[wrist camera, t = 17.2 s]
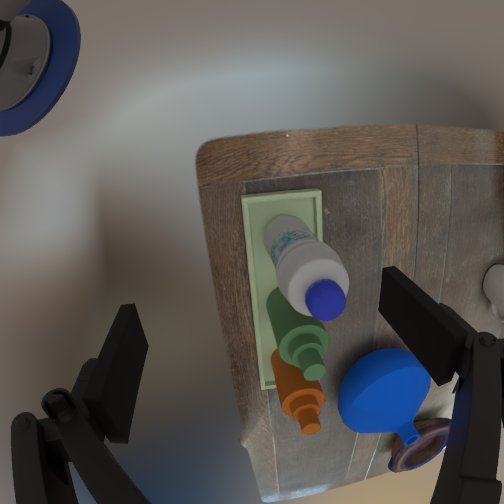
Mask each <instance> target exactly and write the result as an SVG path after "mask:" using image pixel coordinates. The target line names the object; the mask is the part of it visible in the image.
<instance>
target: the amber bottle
mask: <svg viewBox="0 0 504 504" xmlns="http://www.w3.org/2000/svg"><path fill="white" fill-rule="evenodd" d="M270 361H271V366H272V370H273V374H274V378H275V382H276V387H277V391H278V395H279V399H280V403H281V407H282V410H283V412H284V413H285V414H286V415H288V416H291V417H293V419H294V420H295V421H298V422H299V423H300V426H301V430H302V432H303V433H304V434H306V435H310V434H314V433H316V432H318V431H319V430H320V428H321V425H320V422H319V419H318V415H319V413H320V407H321V406H322V405H323V403H324V400H325V396H324V394H323V391H322V388H321V386H320V383H319V381H318V380H316V381H308V380H306V379H305V378H304V376H303V373H302V370H301V368H298V367H296V366H295V365H291V364H289V363H287V362H285V361H284V360H283V359H282V358H281V356H280V354H279V351H278V348H277V349H276V350H275V351H274V352H273V353H272V355H271V359H270Z"/></svg>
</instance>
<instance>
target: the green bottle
mask: <svg viewBox="0 0 504 504" xmlns="http://www.w3.org/2000/svg"><path fill="white" fill-rule="evenodd" d="M266 308H267V312H268V315H269V319H270V322H271V326H272V329H273V333H274V337H275V340H276V344H277V347H278V351H279V354H280V356H281V358H282V359H283V360H284V361H285V362H287V363H289V364H291V365H295V366H296V367H298V368H301V370H302V373H303V376H304V378H305V379H306V380H308V381H316V380H318V379H320V378H322V377H323V376H324V375H325V373H326V367H325V365H324V363H323V361H322V359H323V357H324V354H325V352H326V350H327V348H328V345H329V337H328V334H327V332H326V330H325V328H324V326H323V324H322V323H321V321H320V320H318V319H316V318H314V317H313V316H306V315H304V314H301V313H299V312H298V311H296V310H295V309H294V308H293V307H292V306H291V304H290V303H289V301H288V300H287V299H286V297H285V296H284V295H283V294H282V293H281V291H280V289H279V287H277V288H276V289H274V290H273V291H272V292H271V293H270V295H269V296H268V298H267V302H266Z"/></svg>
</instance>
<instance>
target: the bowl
mask: <svg viewBox="0 0 504 504" xmlns="http://www.w3.org/2000/svg"><path fill="white" fill-rule="evenodd" d="M413 424H414V427H415V428H416V430H417V432H418V433H419V435H420V437H419V439H418V440H417V441H416V442H414V443H413V444H411V445H408V446H405V445H404V444H403V442H402V440H401V438H400V436H399V435H398V436H397V438H396V439H395V441H394V444H393V446H392V451H391V455H392V457H391V459H390V462H389V464H388V468H389V469H390V470H391V471H392V472H395V473H397V472H402V471H408V470H412V469H415V468H417V467H420V466H422V465H424V464H425V463H427V462H429V461H430V460H431V459H433V458H434V457H435V456H436V455H437V454H438V453H440V452H441V451H442V449H443V448H444V447H445V446H446V444H447V440H448V435H449V430H450V425H451V419H448V418H434V419H425V420H420V421H417V422H414V423H413Z"/></svg>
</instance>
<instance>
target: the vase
mask: <svg viewBox="0 0 504 504" xmlns="http://www.w3.org/2000/svg"><path fill="white" fill-rule="evenodd" d="M430 385H431V377H430V375H429V373H428V372H427V371H426V370H425V368H424V367H423V366H422V364H421V363H420V362H419V361H418V359H417V358H416V357H415V355H414V354H413V353H411V352H408V351H405V350H402V349H398V348H386V349H378V350H375V351H372V352H370V353H368V354H366V355H364V356H363V357H361V358H360V359H359V360H357V361H356V362H355V363H354V364H353V365H352V366H351V367H350V368H349V370H348V371H347V373H346V374H345V376H344V378H343V380H342V383H341V385H340V388H339V398H338V410H339V413H340V415H341V418H342V420H343V423H344V424H346V425H347V426H348V427H349V428H350V429H352V430H353V431H355V432H359V433H378V432H394V433H397V434H398V435H399V436H400V438H401V440H402V442H403V444H404V445H405V446H408V445H411V444H413V443H414V442H416V441H417V440H418V439H419V437H420V435H419V433H418V432H417V430H416V428H415V427H414V424H413V421H414V418H415V416H416V414H417V412H418V410H419V408H420V406H421V404H422V402H423V401H424V399H425V397H426V395H427V393H428V391H429V388H430Z"/></svg>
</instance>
